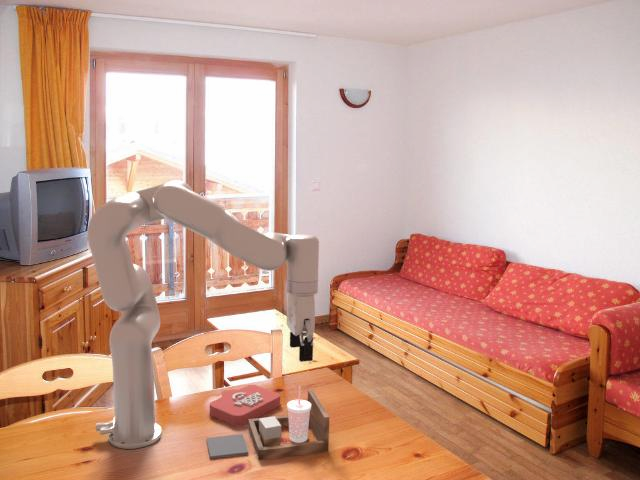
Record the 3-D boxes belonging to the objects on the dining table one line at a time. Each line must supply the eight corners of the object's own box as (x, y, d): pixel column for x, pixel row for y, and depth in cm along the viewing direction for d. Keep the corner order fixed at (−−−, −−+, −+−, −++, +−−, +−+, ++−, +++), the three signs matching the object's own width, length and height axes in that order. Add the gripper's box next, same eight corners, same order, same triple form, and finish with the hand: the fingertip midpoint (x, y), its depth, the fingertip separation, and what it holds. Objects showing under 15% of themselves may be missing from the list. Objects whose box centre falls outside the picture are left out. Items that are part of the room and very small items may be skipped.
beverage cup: (296, 429, 157) (297, 378, 155) (315, 437, 154) (316, 385, 151) (281, 439, 152) (282, 386, 150) (300, 446, 149) (301, 393, 146)
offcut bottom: (264, 451, 147) (264, 439, 146) (259, 439, 153) (259, 428, 152) (280, 449, 148) (280, 438, 147) (275, 437, 154) (275, 426, 153)
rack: (258, 459, 142) (259, 424, 141) (248, 427, 158) (248, 395, 156) (328, 451, 147) (329, 416, 145) (311, 421, 162) (312, 389, 161)
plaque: (244, 379, 180) (283, 393, 171) (244, 391, 181) (283, 405, 172) (199, 398, 166) (238, 415, 157) (199, 412, 167) (238, 429, 158)
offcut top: (265, 439, 146) (265, 428, 146) (258, 429, 151) (259, 418, 151) (281, 436, 148) (281, 425, 148) (274, 427, 153) (274, 416, 152)
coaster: (210, 458, 142) (210, 456, 142) (206, 440, 151) (206, 437, 151) (248, 454, 145) (248, 452, 145) (242, 436, 153) (242, 433, 153)
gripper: (279, 278, 154) (278, 342, 157) (295, 296, 137) (294, 368, 140) (308, 277, 156) (306, 340, 159) (327, 294, 139) (325, 365, 142)
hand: (300, 353), depth 149 cm, fingers open, 9 cm apart
